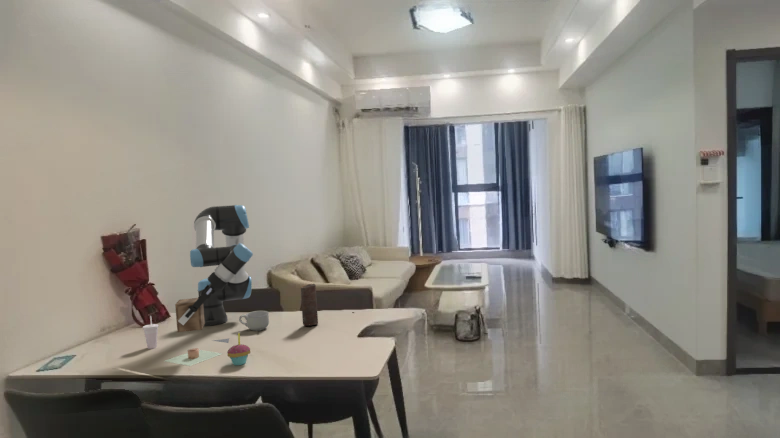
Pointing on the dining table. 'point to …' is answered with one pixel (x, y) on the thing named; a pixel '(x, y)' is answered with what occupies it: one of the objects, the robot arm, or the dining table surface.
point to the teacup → (256, 320)
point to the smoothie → (151, 334)
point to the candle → (309, 305)
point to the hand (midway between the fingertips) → (182, 320)
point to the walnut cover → (195, 320)
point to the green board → (185, 361)
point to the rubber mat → (222, 340)
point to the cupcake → (238, 353)
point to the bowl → (193, 353)
